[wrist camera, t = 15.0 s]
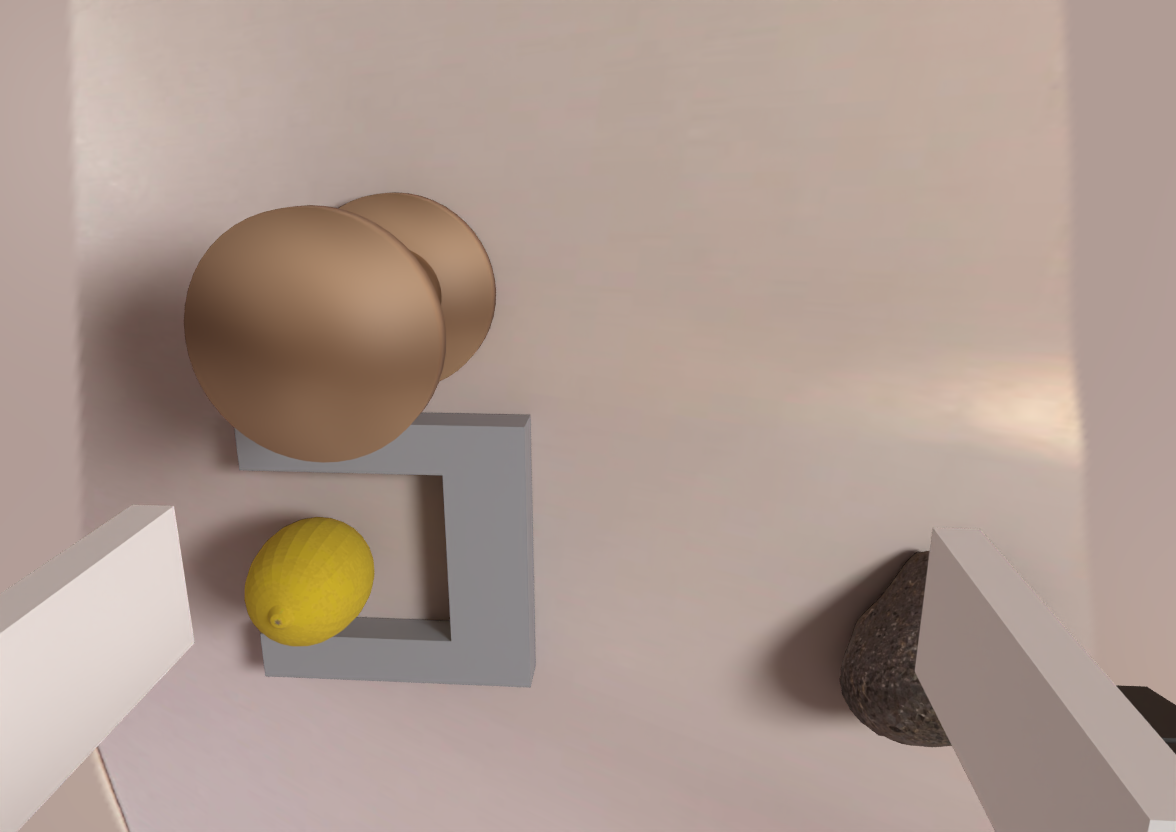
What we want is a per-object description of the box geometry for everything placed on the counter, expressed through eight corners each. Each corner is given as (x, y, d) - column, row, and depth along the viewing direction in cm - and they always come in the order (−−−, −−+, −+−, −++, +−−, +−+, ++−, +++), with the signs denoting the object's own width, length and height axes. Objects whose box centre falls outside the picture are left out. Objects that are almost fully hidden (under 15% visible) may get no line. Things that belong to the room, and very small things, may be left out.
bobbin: (299, 192, 40) (166, 206, 29) (492, 192, 39) (430, 207, 28) (317, 381, 43) (201, 459, 32) (498, 384, 42) (444, 465, 31)
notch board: (252, 409, 43) (233, 421, 41) (530, 414, 42) (524, 427, 40) (281, 655, 47) (265, 676, 45) (535, 665, 46) (530, 687, 44)
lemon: (276, 568, 46) (201, 650, 38) (305, 477, 44) (233, 544, 36) (374, 606, 46) (320, 695, 38) (407, 518, 44) (356, 592, 37)
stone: (1002, 538, 46) (943, 509, 39) (1110, 686, 42) (1066, 685, 34) (852, 630, 50) (772, 620, 43) (936, 775, 46) (862, 792, 38)
